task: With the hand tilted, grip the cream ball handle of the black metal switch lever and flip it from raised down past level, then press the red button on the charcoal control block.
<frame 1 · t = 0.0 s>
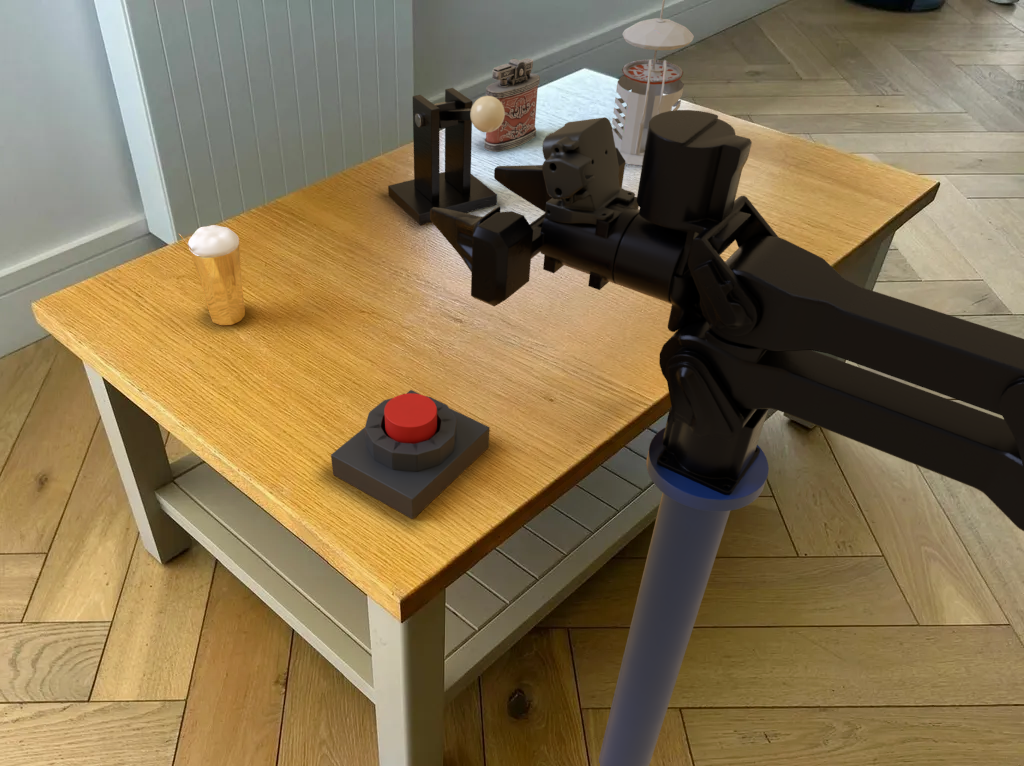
hand: (464, 192, 75), 14 cm above the table, tool horizontal, fingers open, 9 cm apart
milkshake: (224, 319, 87), on the table
button: (410, 418, 69), point 4 cm above the table, slide at 0.1 cm
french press: (640, 153, 113), on the table
control block: (412, 461, 72), on the table
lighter: (510, 142, 116), on the table
lever: (464, 114, 93), point 12 cm above the table, hinge at 20.0°
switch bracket: (442, 200, 104), on the table
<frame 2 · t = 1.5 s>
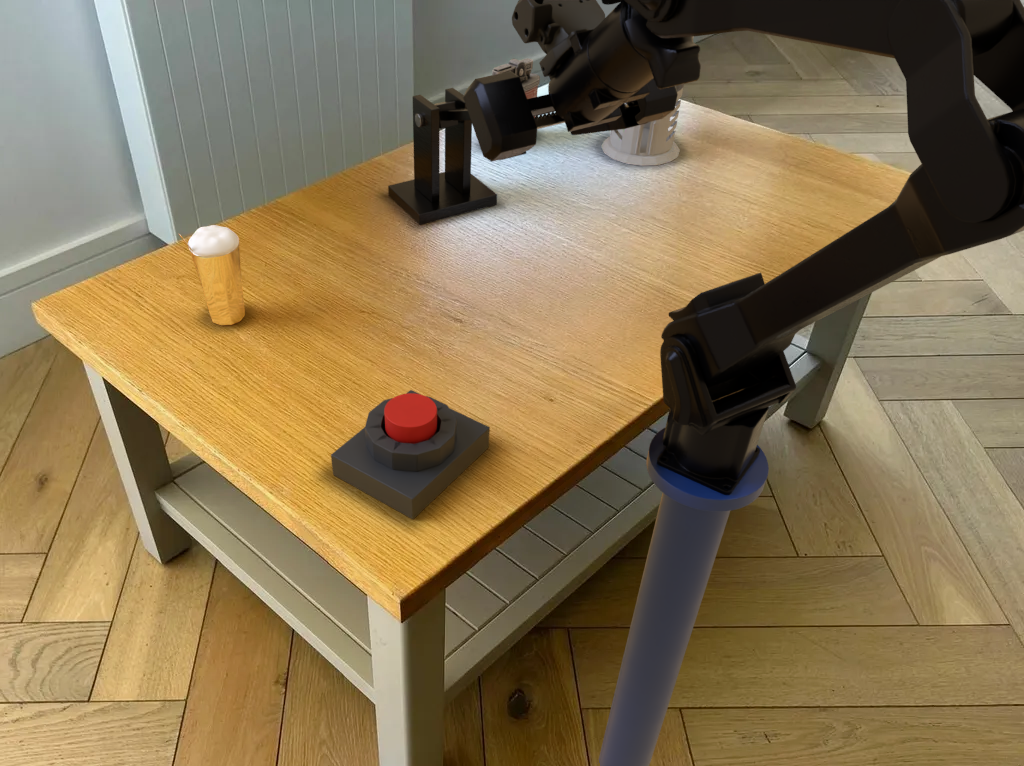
hand: (530, 139, 83), 14 cm above the table, tool tilted 45°, fingers open, 9 cm apart
nothing on the table moved.
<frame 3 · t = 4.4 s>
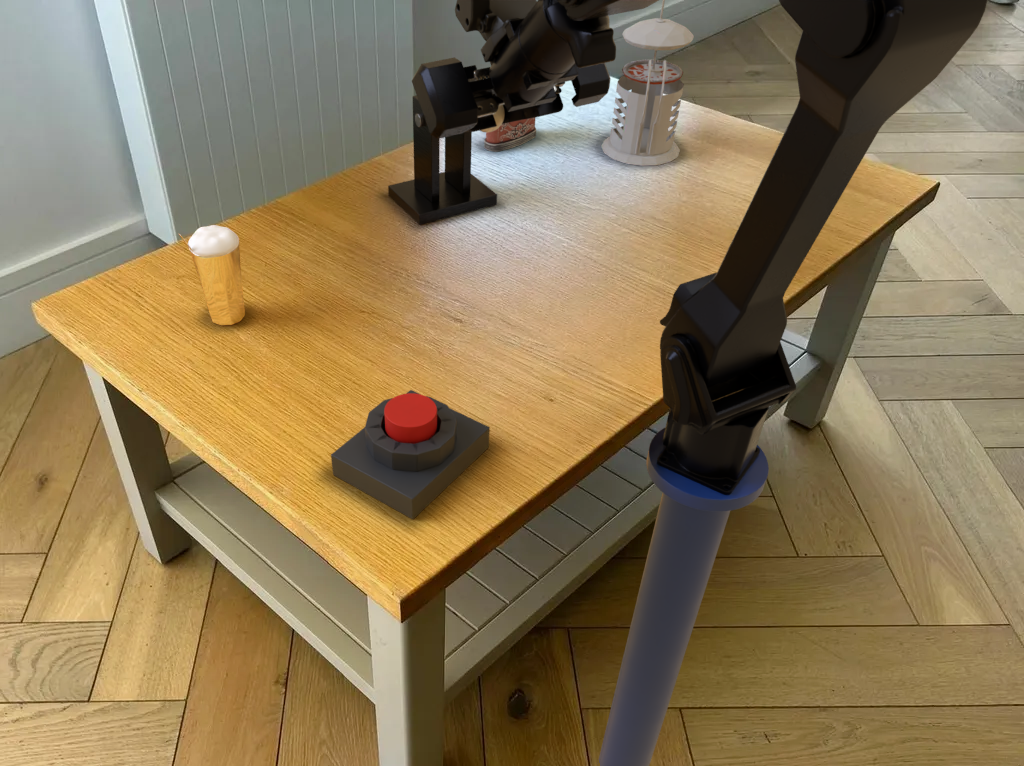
hand: (480, 123, 91), 12 cm above the table, tool tilted 45°, fingers closed on lever, 3 cm apart
lever: (464, 114, 93), point 12 cm above the table, hinge at 20.0°, touching gripper
everything else where it was.
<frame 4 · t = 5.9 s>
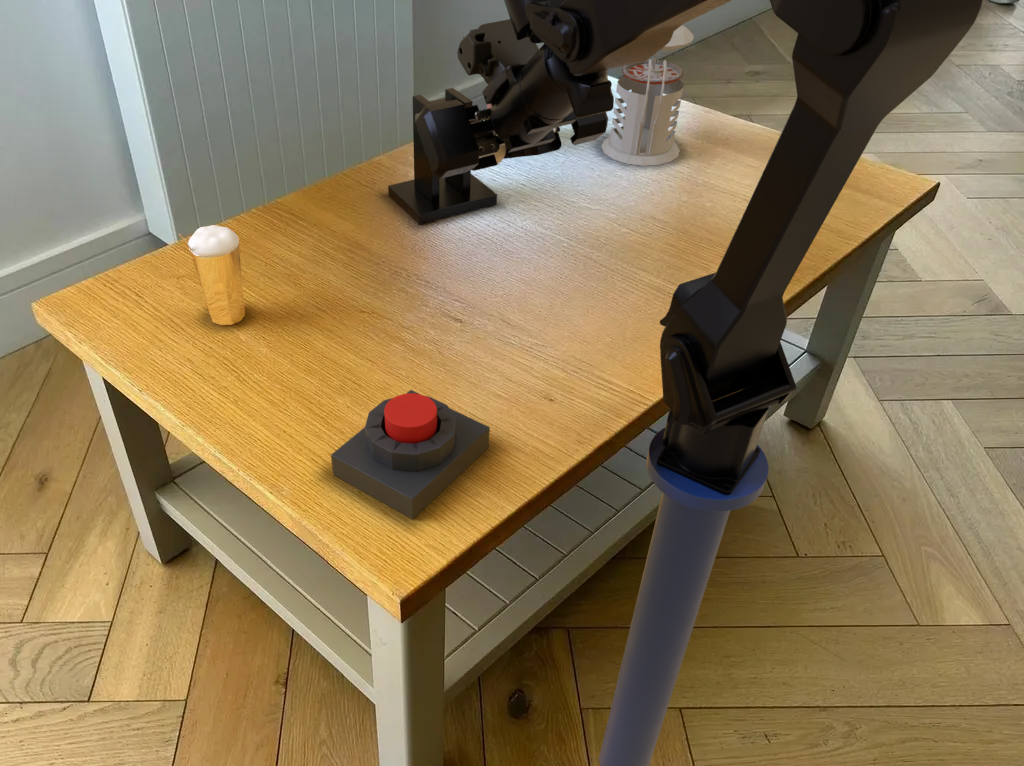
hand: (480, 157, 93), 8 cm above the table, tool tilted 45°, fingers closed on lever, 3 cm apart
lever: (465, 132, 94), point 10 cm above the table, hinge at 0.4°, touching gripper
everything else where it was.
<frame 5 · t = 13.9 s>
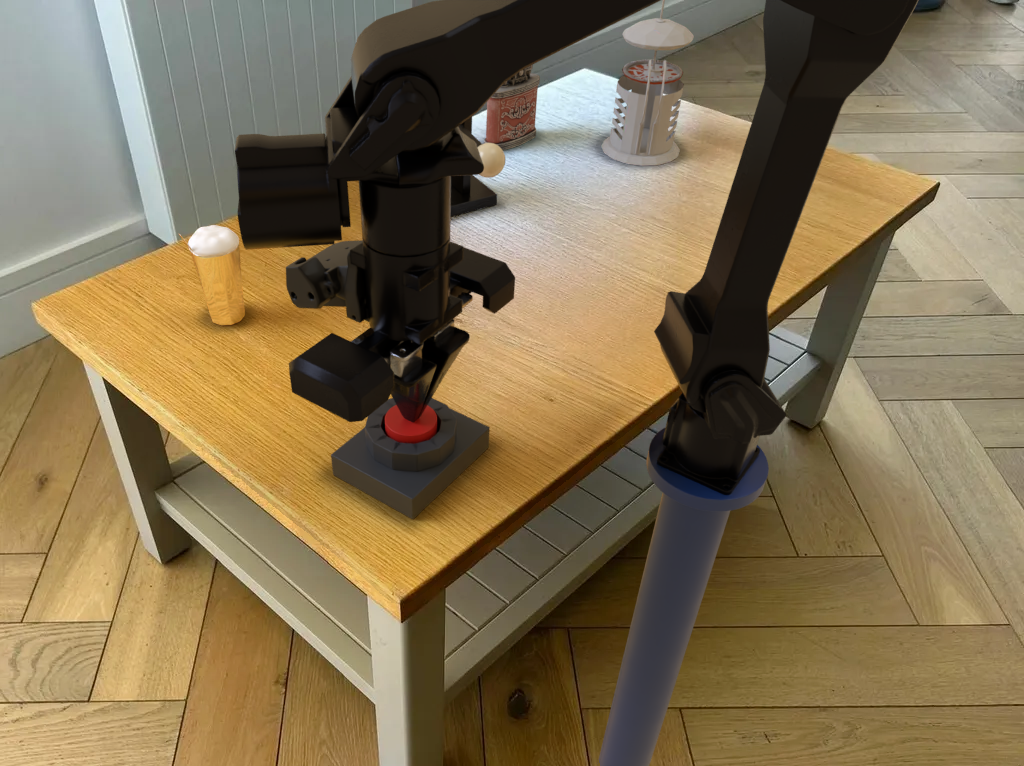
hand: (411, 418, 69), 5 cm above the table, tool pointing down, fingers closed, pressing on button
button: (411, 426, 69), point 4 cm above the table, slide at -0.7 cm, touching gripper
lever: (465, 137, 94), point 9 cm above the table, hinge at -6.5°
everything else where it was.
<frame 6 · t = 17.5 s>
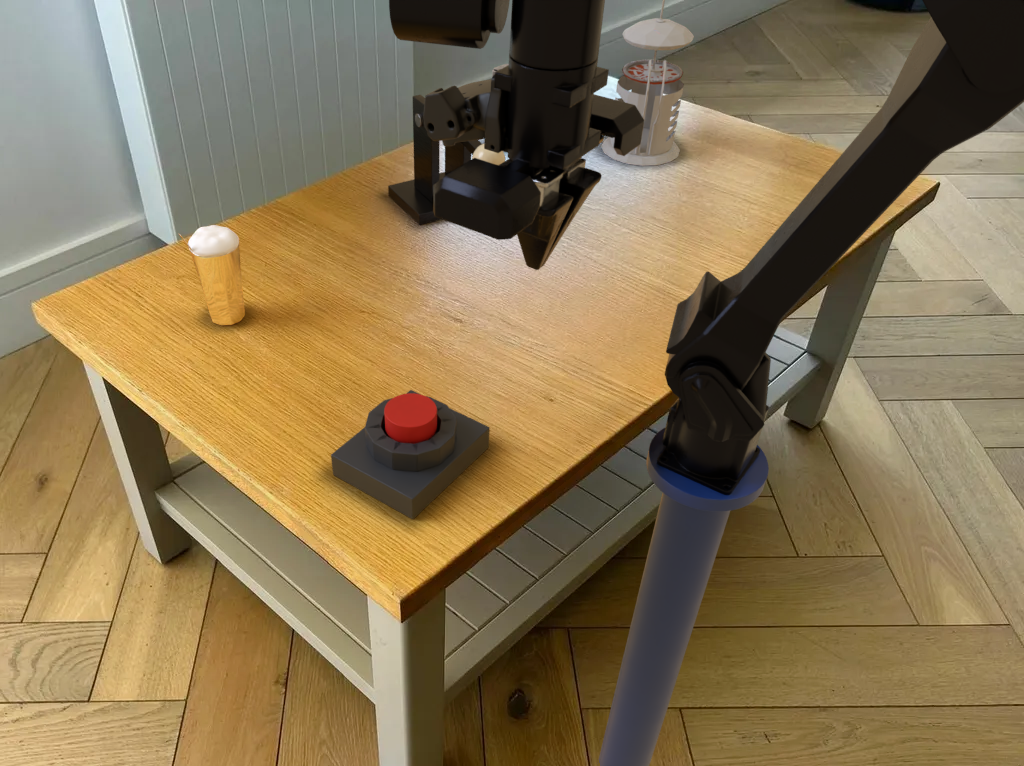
hand: (534, 266, 68), 13 cm above the table, tool pointing down, fingers closed
button: (410, 418, 69), point 4 cm above the table, slide at 0.1 cm
everything else where it was.
at the end: lever at -6° (first picture: +20°); button pushed in 1.1 cm at the most during the clip, back to where it started at the end; button slide at 0.1 cm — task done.
